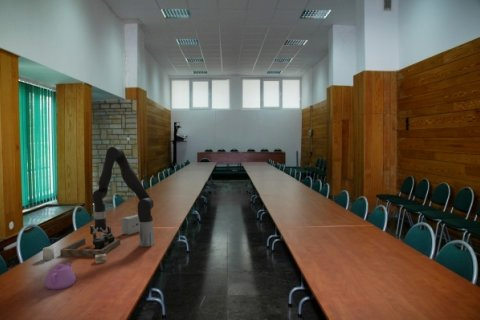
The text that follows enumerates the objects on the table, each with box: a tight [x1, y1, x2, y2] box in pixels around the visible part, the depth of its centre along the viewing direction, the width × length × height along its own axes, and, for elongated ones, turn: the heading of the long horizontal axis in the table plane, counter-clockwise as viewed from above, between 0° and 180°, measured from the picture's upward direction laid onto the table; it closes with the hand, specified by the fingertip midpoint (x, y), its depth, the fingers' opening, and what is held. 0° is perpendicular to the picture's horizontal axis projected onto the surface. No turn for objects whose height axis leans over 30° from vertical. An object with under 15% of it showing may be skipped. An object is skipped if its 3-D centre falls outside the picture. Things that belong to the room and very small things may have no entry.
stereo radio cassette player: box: [121, 210, 139, 236], centre depth 274 cm, size 21×8×20 cm, turn 149°
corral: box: [60, 237, 122, 258], centre depth 229 cm, size 28×26×4 cm
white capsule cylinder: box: [42, 246, 55, 262], centre depth 212 cm, size 6×6×7 cm
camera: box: [92, 233, 116, 250], centre depth 234 cm, size 16×10×10 cm, turn 155°
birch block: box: [94, 254, 107, 264], centre depth 207 cm, size 6×4×4 cm, turn 115°
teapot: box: [44, 262, 77, 291], centre depth 174 cm, size 14×20×11 cm
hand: (100, 240), depth 241 cm, fingers open, 8 cm apart
